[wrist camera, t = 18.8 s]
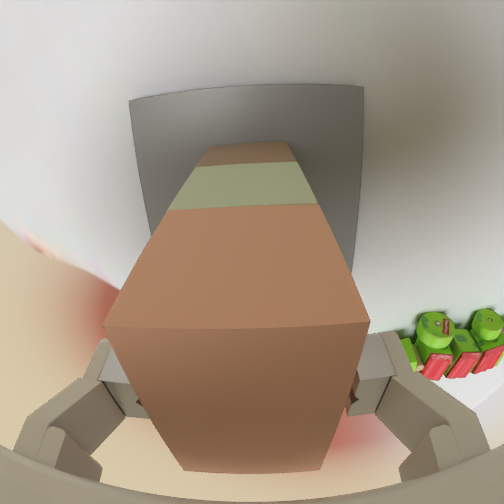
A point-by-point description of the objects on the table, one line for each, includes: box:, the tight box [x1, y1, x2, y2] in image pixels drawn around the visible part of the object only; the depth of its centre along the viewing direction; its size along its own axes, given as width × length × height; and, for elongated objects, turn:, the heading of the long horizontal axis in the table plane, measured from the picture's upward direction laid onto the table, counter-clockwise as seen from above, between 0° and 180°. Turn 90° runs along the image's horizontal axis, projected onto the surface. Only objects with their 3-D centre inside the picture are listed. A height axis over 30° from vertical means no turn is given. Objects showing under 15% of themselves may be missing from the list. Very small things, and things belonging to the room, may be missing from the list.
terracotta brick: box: [102, 204, 370, 474], centre depth 9 cm, size 4×7×5 cm, turn 2°
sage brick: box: [167, 162, 318, 211], centre depth 13 cm, size 4×7×5 cm, turn 3°
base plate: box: [129, 84, 364, 273], centre depth 18 cm, size 14×14×6 cm
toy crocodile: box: [400, 309, 504, 381], centre depth 25 cm, size 20×7×6 cm, turn 88°
